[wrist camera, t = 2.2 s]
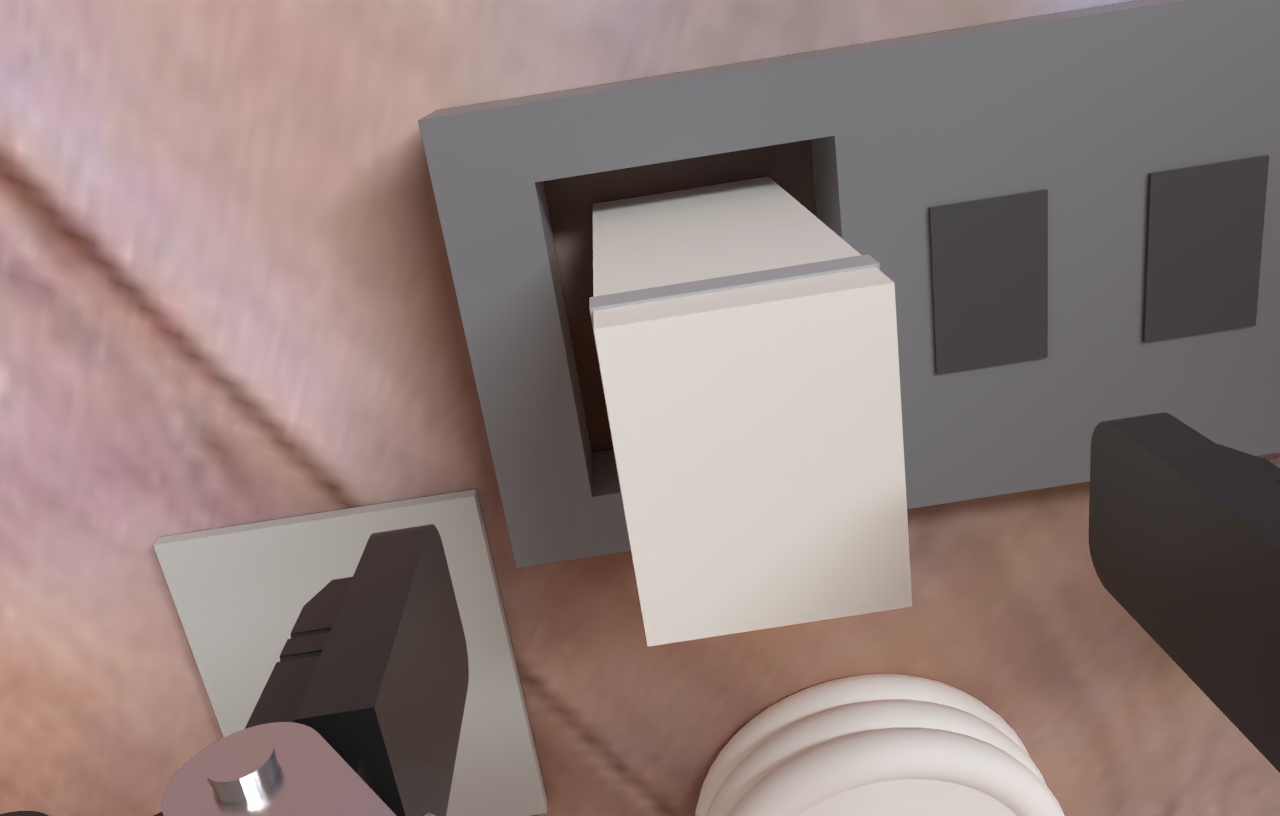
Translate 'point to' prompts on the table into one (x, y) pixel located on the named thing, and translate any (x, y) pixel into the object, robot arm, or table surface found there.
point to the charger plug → (750, 411)
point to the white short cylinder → (876, 756)
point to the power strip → (925, 239)
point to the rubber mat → (331, 549)
